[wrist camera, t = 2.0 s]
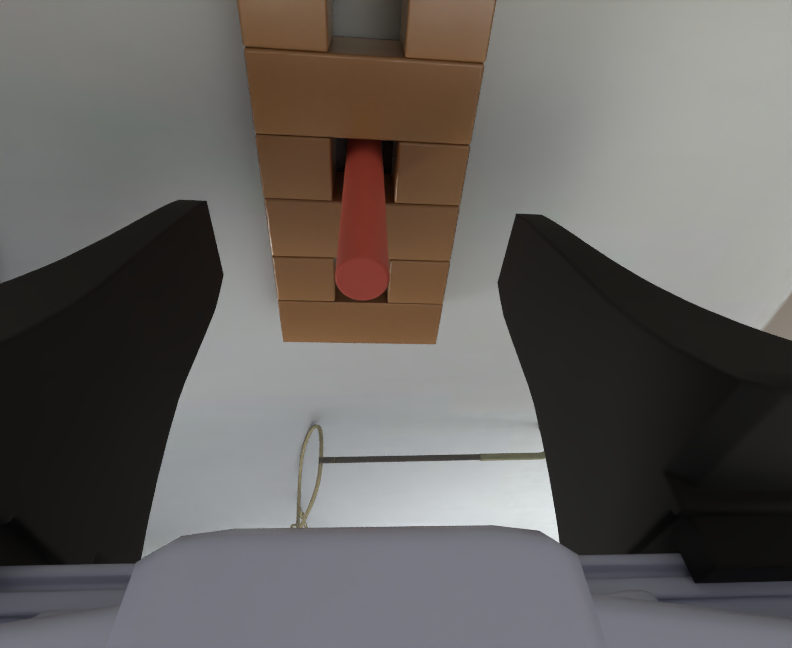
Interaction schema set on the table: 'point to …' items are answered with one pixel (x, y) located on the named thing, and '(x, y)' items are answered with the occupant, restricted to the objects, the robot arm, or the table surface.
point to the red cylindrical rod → (363, 224)
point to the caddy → (363, 119)
